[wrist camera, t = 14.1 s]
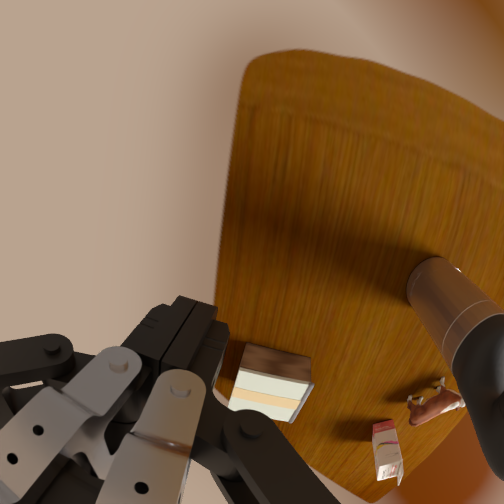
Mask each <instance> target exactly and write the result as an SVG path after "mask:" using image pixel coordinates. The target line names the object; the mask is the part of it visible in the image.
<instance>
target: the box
mask: <svg viewBox="0 0 504 504" xmlns="http://www.w3.org/2000/svg"><path fill="white" fill-rule="evenodd" d="M240 367H241V368H245V369H250V370H254V371H258V372H262V373H267V374H271V375H276V376H281V377H286V378H291V379H296V380H301V381H307V382H311V360H310V358H309V357H305V356H300V355H296V354H292V353H287V352H283V351H279V350H275V349H271V348H267V347H263V346H259V345H255V344H252V343H248V342H247V343H246V346H245V349H244V353H243V356H242V359H241V363H240V366H239V369H240ZM238 372H239V370H238ZM237 375H238V373H237ZM236 378H237V376H236ZM235 382H236V379H235ZM234 385H235V383H234ZM233 388H234V386H233ZM232 392H233V390H232ZM231 395H232V394H231ZM230 398H231V397H230ZM228 405H229V404H228Z"/></svg>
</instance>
